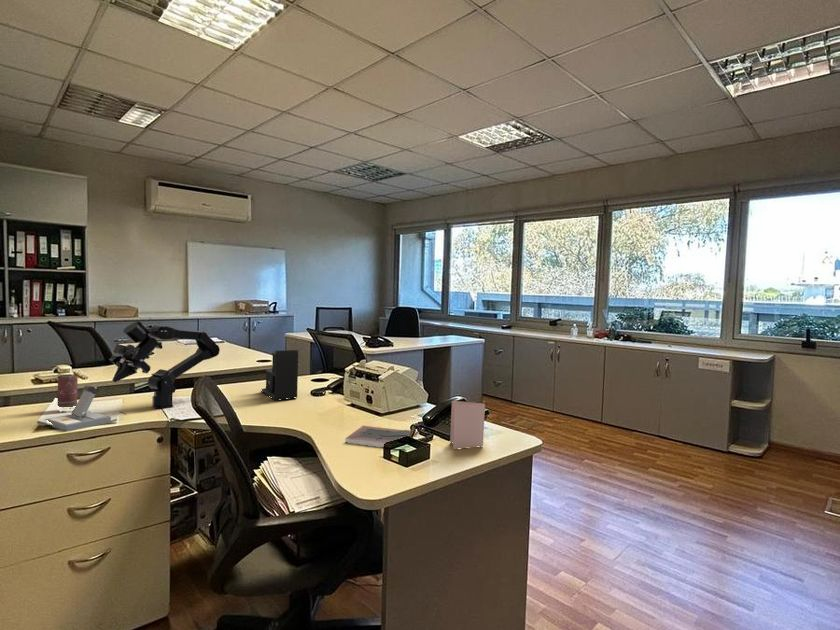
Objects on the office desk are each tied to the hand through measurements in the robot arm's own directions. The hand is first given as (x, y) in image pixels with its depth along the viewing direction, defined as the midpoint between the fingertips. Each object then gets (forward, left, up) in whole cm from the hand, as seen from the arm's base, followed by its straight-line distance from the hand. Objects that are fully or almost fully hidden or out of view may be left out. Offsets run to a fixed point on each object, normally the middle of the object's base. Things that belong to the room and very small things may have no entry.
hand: (113, 381), depth 172 cm
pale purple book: (-63, +84, -14) cm, 106 cm away
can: (+11, -20, -14) cm, 26 cm away
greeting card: (-79, +108, -14) cm, 135 cm away
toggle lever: (+11, +3, -10) cm, 15 cm away
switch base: (+11, +3, -14) cm, 18 cm away
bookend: (-68, +1, -14) cm, 69 cm away
